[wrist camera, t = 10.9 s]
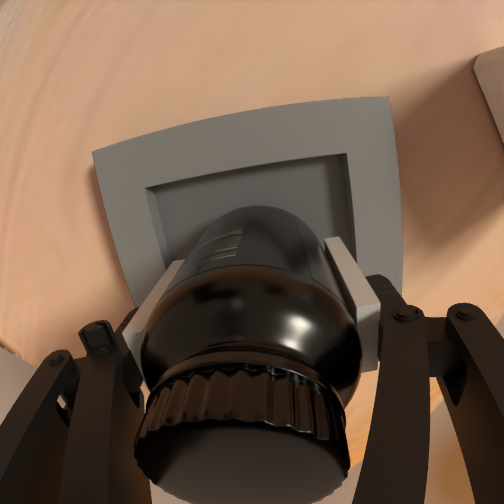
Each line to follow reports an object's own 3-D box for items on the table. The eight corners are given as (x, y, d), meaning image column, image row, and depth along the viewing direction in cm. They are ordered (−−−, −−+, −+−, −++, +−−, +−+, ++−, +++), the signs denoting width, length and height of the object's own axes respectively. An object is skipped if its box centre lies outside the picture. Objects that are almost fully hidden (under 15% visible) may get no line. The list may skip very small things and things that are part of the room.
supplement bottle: (194, 314, 18) (123, 502, 7) (197, 196, 16) (49, 336, 4) (312, 326, 18) (342, 525, 7) (334, 210, 15) (455, 377, 4)
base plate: (173, 364, 22) (166, 383, 20) (109, 149, 17) (91, 151, 15) (387, 338, 21) (396, 356, 19) (375, 100, 15) (388, 96, 13)
